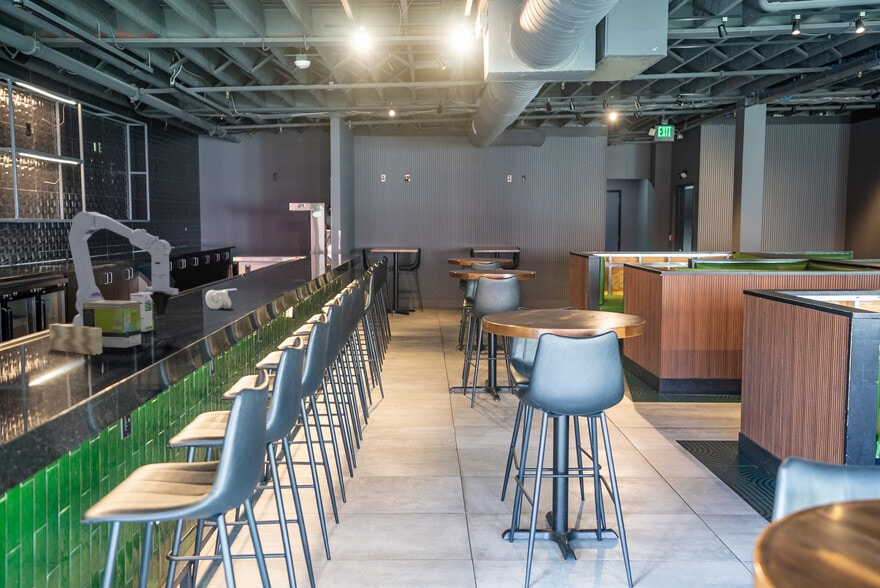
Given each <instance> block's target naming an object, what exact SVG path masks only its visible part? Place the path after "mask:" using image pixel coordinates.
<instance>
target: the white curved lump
mask: <svg viewBox="0 0 880 588" xmlns="http://www.w3.org/2000/svg"><path fill="white" fill-rule="evenodd" d="M228 291H229V290H227V289H223V290H215V289H210V290H208V291H207V292H206V294H205V297H204V298H205V303H206V305H207V306H208V307H209V308H210V309H212V310H220V309H221V308H224V309H230V308H231V307H232V300H231V298H230V296H229V295H228V294H229V292H228Z"/></svg>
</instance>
